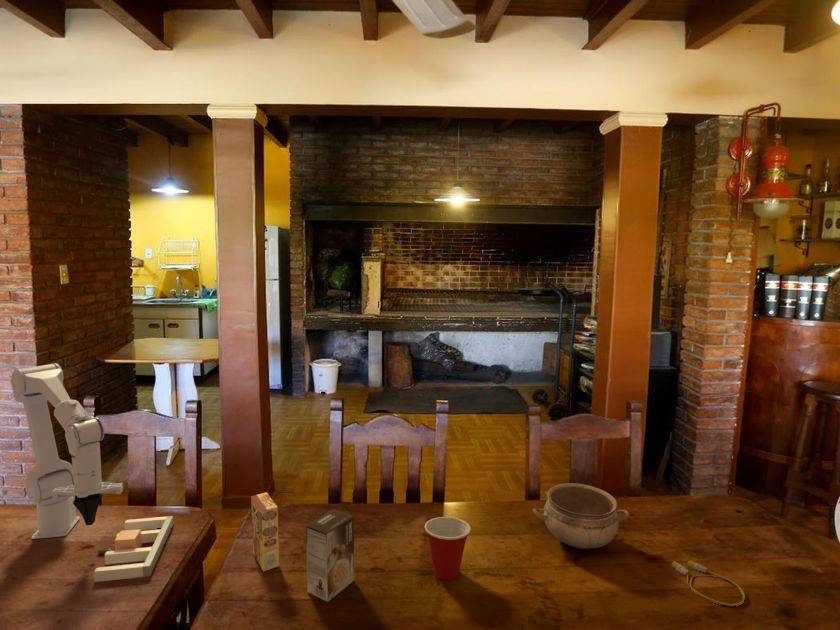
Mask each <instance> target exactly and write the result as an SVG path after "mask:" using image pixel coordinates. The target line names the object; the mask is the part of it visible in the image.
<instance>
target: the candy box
mask: <svg viewBox="0 0 840 630" xmlns="http://www.w3.org/2000/svg"><path fill="white" fill-rule="evenodd" d="M250 500H251V504H250V505H251V525H252V526H251V527H252V529H251V530H252V531H251V532H252V549H253V555H254V557H255V559H256V560H257V563H258V564H259V566H260V568H261V570H262V572H266V571H270V570H272V569H276V568H278V567H280V544H279V541H280V540H279V516H278V515H279V507H278V505H277V504H276V503H275V502H274V500H273V498H271V496H270V495H269V493H268V492H263V493H259V494H255V495H252V496H251V497H250Z"/></svg>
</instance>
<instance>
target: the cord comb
mask: <svg viewBox="0 0 840 630" xmlns="http://www.w3.org/2000/svg"><path fill="white" fill-rule="evenodd" d="M173 526H174V516H173V515H169V516H159V517H157V516H156V517H155V516H154V517H144V518H134V519H126V520H125V522H124V530H138V529H141V544H146V543H153V545H152V546H148V547H147V546H146V547H141V548H136V549H125V550H115V551H107V552H106V553H105V554H104V564H105V565H107V566H99V567H96V568H95V570H94V571H93V577H94V583H100V582H106V581H108V582H109V581H116V580H125V579H134V578H135V579H136V578H144V577H150V576H151V575H152V573H153V571H154V569H155V566H156V564H157V561H158V560H159V557H160V556H161V553H162V550H163V548H164V546H165V544H166V541H167V540H168V537H169V535H170V534H171V531H172V529H173ZM157 528H161V529H157ZM171 528H172V529H171ZM119 533H120V532H117V534H116V536H115V539H116V538H117V536H118V535H119ZM143 561H144V562H143ZM134 562H136V563H134ZM137 562H140V563H137ZM123 563H127V564H123ZM128 563H129V564H128ZM130 563H131V564H130ZM117 564H119V565H117ZM120 564H121V565H120ZM108 565H111V566H108Z"/></svg>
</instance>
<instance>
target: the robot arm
mask: <svg viewBox="0 0 840 630" xmlns="http://www.w3.org/2000/svg"><path fill="white" fill-rule="evenodd" d="M63 371H64V370H63V368H62V367H61V365H60V364H58V363H57V362H53V363H50V364H44V365H38V366H36V365H35V366H31V367H24V368H16V369H14V370H13V371H12V372H11V377H10V383H11V389H12V395H13V397H14V400H15V402H18V403H22V405H23V408H24V410H25V414H26V420H27V425H28V430H29V434H30V438H31V444H32V449H33V454H34V458H35V463H36V464H35V465H34V466H33V468H32V469H31V470H30V471H29V472H28V473H27V474H26V476H25V482H26V484H25V485H26V487H25V488H26V489H25V491H26V496H27V498H28V500H29V502H31V503H33V504H35V505H36V518H37V530H36V531H35V533H33V535H32V536H31V537H30V538H31V539H32V540H35V539H36V540H37V539H47V538H48V539H49V538H57V537H59V538H60V537H66V536H68V534H69V533H70V532H71V530H72V529H73V528H74V527H75V525H76V524H77V523H78V521H79V520H80V519H81V516H82V518H83V520H84V524H85V526H92V525H94V523H96V516H97V511H98V508H99V505H100V503H101V500H102V498H103V496H104V495H109V494H116V495H121V494H122V492H123V491H124V486H123V485H124V483H123V482H118V483H117V482H108V481H107V482H106V481H103V477H102V460H101V443H100V442H102V441H103V440H104V437H105V429H104V425H103V423H102V421H101V419H100V418H99V417H94V416H93V415H89V413H88V412H87V410H86V409H85V408H84V407H83V405H82V404H81V403H80V402H79V400H76V399H71V398H70V396H69V394H68V392H67V390H66V389H65V387H64V372H63ZM48 402H49V403H50V404H51V406H53V407H54V410H53V416H54V417H55V419H56V420H57V421H58V423H59V424H60V425H61V427H62V428H63V430H64V431H65V433H64V437H65V441H66V443H67V447H68V452H69V454H70V455H71V463H70V462H68V461H66V460H63V459H60V457H59V453H58V447H57V443H56V439H55V434H54V429H53V424H52V420H51V415H50V410H49V406H48ZM76 509H77V510H78V511H79V513H80V514H81V516H79V515H78V516H77V511H76Z"/></svg>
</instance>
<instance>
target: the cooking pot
mask: <svg viewBox="0 0 840 630" xmlns="http://www.w3.org/2000/svg"><path fill="white" fill-rule="evenodd" d="M617 508H618V502H617V499H616V498H614V496H613V495H611V494H610V493H608V492H607V491H605V490H603V489H601V488H598V487H595V486H592V485H587V484H584V483H583V484H582V483H573V482H572V483H561V484H560V483H559V484H557V485H554V486H551V488H549V489H548V491H547V500H546V502H545V504H544V508H538V507H534V508H533V509H532V513H534V515H535V516H536V517H538V518H540V519H542V520H543V521H544V523H545V525H546V528H547V529H548V531H549V532H550V533H551V534H552V536H554V537H555V538H556V539H557V540H558V541H560V542H562V543H563V544H566V545H568V546H570V547H571V548H573V549H578V550H591V549H598V548H601V547H604V546H606V545H608V544H610V543H611V542H612V541H613V540H614V539H615V537H616V536H617V534H618V531H619V527H620V522H622V521H624V520H626V519H627V518H628V517H629V516H630V513H629V512H628V511H627V510H626V509H617ZM616 509H617V510H616ZM619 514H620V515H621V514H624V515H621V516H619Z"/></svg>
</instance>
